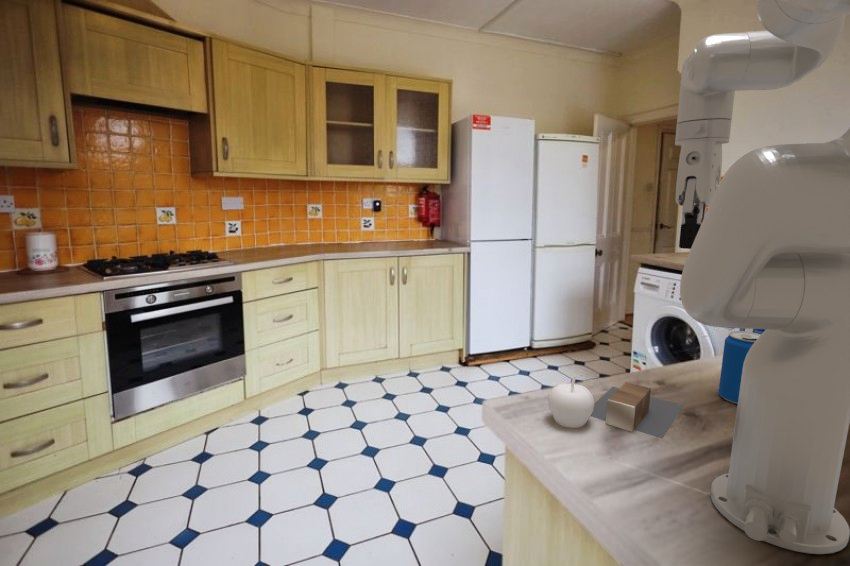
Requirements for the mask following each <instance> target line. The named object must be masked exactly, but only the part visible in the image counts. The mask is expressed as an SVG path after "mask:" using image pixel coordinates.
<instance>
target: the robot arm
mask: <svg viewBox="0 0 850 566" xmlns="http://www.w3.org/2000/svg"><path fill="white" fill-rule="evenodd" d="M755 4H756V8H755V9H756V14H757V17H758V20H759V22H760V23H761V25H762V26H763V28H764V29H765V30H756V31H755V30H753V31H741V32H729V33H726V32H725V33H716V34H715V33H714V34H711V35H708V36H706V37H704V38H702V39H700V40H699V42H698V43H697V44H696V46H695V47H694V48H693V49H691V52H690V53H689V55H688V56H687V57H686V58H685V59H684V61H683V64H682V68H681V76H680V77H681V78H680V85H679V86H680V87H679V97H678V99H679V100H678V106H677V107H678V109H677V118H676V119H677V120H676V129H675V138H674V139H675V140H674V141H675V142H674V146H677V147H680V153H679V156H678V157H679V160H678V167H677V168H678V169H677V177H676V183H675V184H676V186H675V203H676V204H677V205H678V206H681V207H682V211H681V212H682V214H681V224H680V232H679V243H678V248H680V249H686V250H689V252H688V255H687V256H686V257H687V258H686V260H685V263H684V265H683V269H682V273H681V277H680V283H679V286H680V287H679V293H680V294H679V295H680V300H681V301H680V302H681V305H682V306H683V309H684V311H685V312H686V314H688V315H689V317H690V318H692V320H694V321H696V322H697V323H700V324H701V325H705V326H709V327H713V328H725V329H726V328H727V329H744V330H745V329H748V330H750V329H751V330H764V331H763V332H762V333H761V335H760V336H759V338H758V339H757V340H756V341H755V342H754V344H753V345H752V347H751V348H750V350H749V351H748V353H747V355H746V358H745V361H744V364H743V370H742V376H741V384H740V391H739V399H738V404H737V408H736V414H735V416H736V417H735V423H734V430H733V437H732V446H731V452H730V460H729V468H728V473H724V474H720V475H719V476H717V477H715V478H714V479H713V481H712V483H711V486H710V493H709V495H710V498H711V499H710V500H711V501H712V503H713V505H714V507H715V508H716V509H717V510H718V512H720V514H721V515H722V516H723V517H724V518H726V519H727V520H728V521H729V522H730V523H731V524H733V525H734V526H736V527H737V528H739V529H740V530H741V531H743V532H744V533H745V535H746V536H748V537H749V538H751V539H752V540H755V541H760V542H761V541H763V542H766V543H768V544H771V545H773V546H776V547H779V548H780V549H781V548H783V549H785V550H788V551H793V552H798V553H803V554H814V555H825V554H834V553H836V552H840V551H842V550H843V549H844V548H846V547H847V545H848V543H849V541H850V526H849V523H848V522H847V521H846V518H845V517H844V516H843V515H842V514H841V513H840V511H838V510H837V508H836V507H835V502H836V498H837V497H836V496H837V491H838V485H839V480H840V477H841V476H840V475H841V471H842V464H843V459H844V454H845V448H846V443H847V437H848V433H849V427H850V127H849V128H848V129H847V130H846V131H845V132H844V133H843V134H842V135H841V136H838V137H837V138H836V139H833V140H830V141H826V142H814V143H811V142H810V143H808V142H807V143H784V144H783V143H782V144H775V145H774V144H773V145H767V146H762V147H758V148H755V149H754V150H751V151H749V152H747V153H746V154H744V155H742V156H741V157H739V158H738V159H737V160H736V161H735V162H734V163H733V164H732V165H731V166H730V167H729V168H728V170H727V171H726V172H725V174H724V175H723V177H722V167H723V166H722V165H723V145H724V144H729V143H730V137H731V129H732V127H731V126H732V119H733V112H734V111H733V110H734V101H735V94H736V92H740V91H741V92H742V91H771V90H779V89H783V88H786V87H789V86H791V85H793V84H795V83H797V82H799V81H800V80H802V79H803V78H805V77H807V76H808V75H809V74H811V73H813V72H815V71H816V70H818V68H820V67H821V66H823V64H824V63H826V61H827V60H829V58H830V56H831V54H833V52H834V51H835V49H836V46H837V45H838V43H839V41H840V39H841V38H842V37H841V36H842V33H843V30H844V27H845V20H846V16H848V17H849V16H850V0H756V3H755ZM707 207H708V209H707Z"/></svg>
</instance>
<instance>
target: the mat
mask: <svg viewBox="0 0 850 566" xmlns="http://www.w3.org/2000/svg"><path fill="white" fill-rule="evenodd" d="M619 388H620V387H615V386H611V387H610V389H608V390H607V391H606V392H605V393H604V394H603V395H601V397H600V398H599V399H597V401H595V402H594V409H593V412H592V414H591V415H590V417H592V418H596V419H598V420H601V421H605V422H606V413H607V400H608V399H609V398H610V397H611V396H612V395H613V394H614V393H615V392H616V391H617V390H618V389H619ZM684 405H685V404H682V403H677V402H674V401H670V400H666V399H662V398H658V397H655V396H651V395H650V404H649V411H648V412H647V414H646V415H645V416H644V418H643V419H642V420H641V421H640V423H639V424H638V425H637V426H636V428H635V429H634V430H633V431H638V432H639V433H644V434H647V435H649V436H653V437H657V438H660V439H663V438H664V436H665V435H666V433H667V432H668V430H669V429H670V428H671V425H672V424H673V422H674V421H675V420H676V418H677V417H678V415H679V413H680V412H681V411H682V409H683V407H684Z"/></svg>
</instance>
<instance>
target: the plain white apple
mask: <svg viewBox="0 0 850 566" xmlns="http://www.w3.org/2000/svg"><path fill="white" fill-rule="evenodd" d="M577 378H578V376H577V375H573V376H572V380H571V382H570V383H567V382H566V383H565V382H561V383H559V384H557V385H556V386H554V387H553V388H551V390H550V392H549V394H548V396H547V403H548V407H549V410H550V412H551V414H552V416H553V419H554V420H555V423H557V424H558V425H560V426H562V427H564V428H569V429H579V428H582V427H584V426H585V424H586V423H587V421H588V420H589V419H590V417H591V416H590V415H591V414H592V412H593V409H594V403H595V399H594V396H593V394H592V393H591V392H590V390H589V389H588V388H587V387H585V386H584V385H580V384H577V383H576V379H577Z"/></svg>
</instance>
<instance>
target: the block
mask: <svg viewBox="0 0 850 566" xmlns="http://www.w3.org/2000/svg"><path fill="white" fill-rule="evenodd" d="M618 388H619V389H618V390H617V391H616V392H615V393H614V394H613V395H612V396H611V397H610V398H609V399H608V400H607V413H606V421H605V425H608V426H612V427H615V428H618V429H620V430H621V429H622V430H625V431H628V432H632V433H633V432H634V431H635V430H634V429H635V428H636V426H637V425H638V424H639V423H640V421H641V420H642V419H643V418H644V416H645V415H646V414H647V412H648V411H649V404H650V396H651V392H652V391H651V390H652V388H650V387H647V386H642V385H638V384H634V383H631V382H626V381H625V382H624V383H623V385H621V386H620V387H618Z"/></svg>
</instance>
